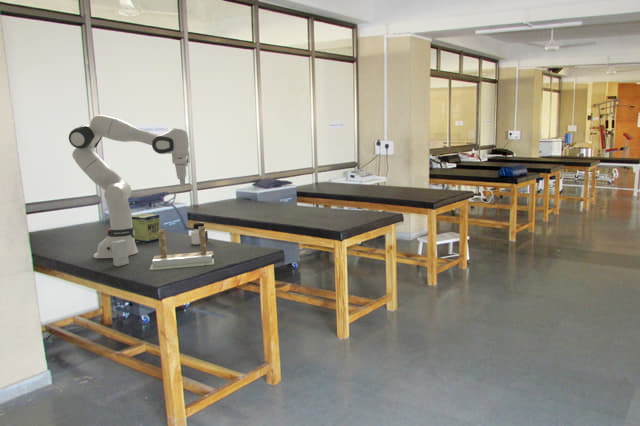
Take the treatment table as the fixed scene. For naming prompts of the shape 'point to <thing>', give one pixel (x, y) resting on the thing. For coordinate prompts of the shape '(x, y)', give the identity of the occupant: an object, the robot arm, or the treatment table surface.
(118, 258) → the skincare box
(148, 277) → the treatment table surface
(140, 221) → the protein box
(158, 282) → the treatment table surface
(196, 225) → the medicine bottle
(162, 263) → the aluminium rail
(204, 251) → the hook rack
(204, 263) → the sage mat
